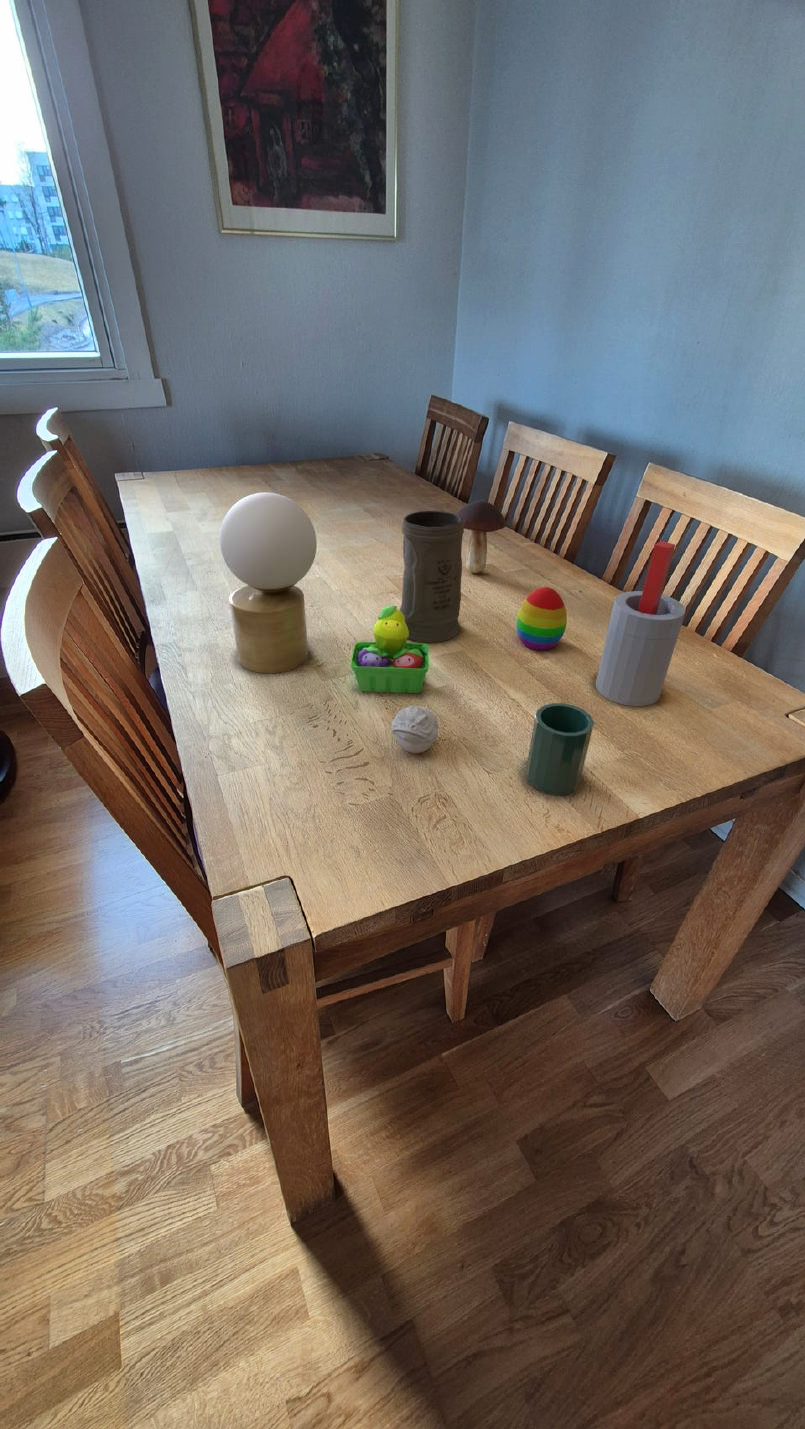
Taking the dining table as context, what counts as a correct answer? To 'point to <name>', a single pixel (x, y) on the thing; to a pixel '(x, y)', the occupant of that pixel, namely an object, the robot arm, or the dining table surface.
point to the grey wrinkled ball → (415, 728)
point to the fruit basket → (390, 657)
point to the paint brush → (656, 577)
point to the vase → (638, 650)
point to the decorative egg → (542, 619)
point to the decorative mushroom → (479, 531)
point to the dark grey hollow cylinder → (432, 574)
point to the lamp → (268, 579)
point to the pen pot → (558, 748)
